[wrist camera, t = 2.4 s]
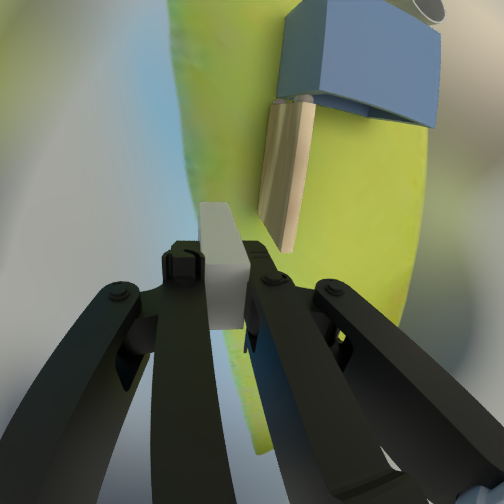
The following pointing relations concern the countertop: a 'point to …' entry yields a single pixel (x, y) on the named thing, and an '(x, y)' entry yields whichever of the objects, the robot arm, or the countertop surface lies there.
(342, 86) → the cabinet
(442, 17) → the cup
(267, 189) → the door
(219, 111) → the countertop surface
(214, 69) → the countertop surface
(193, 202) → the countertop surface
